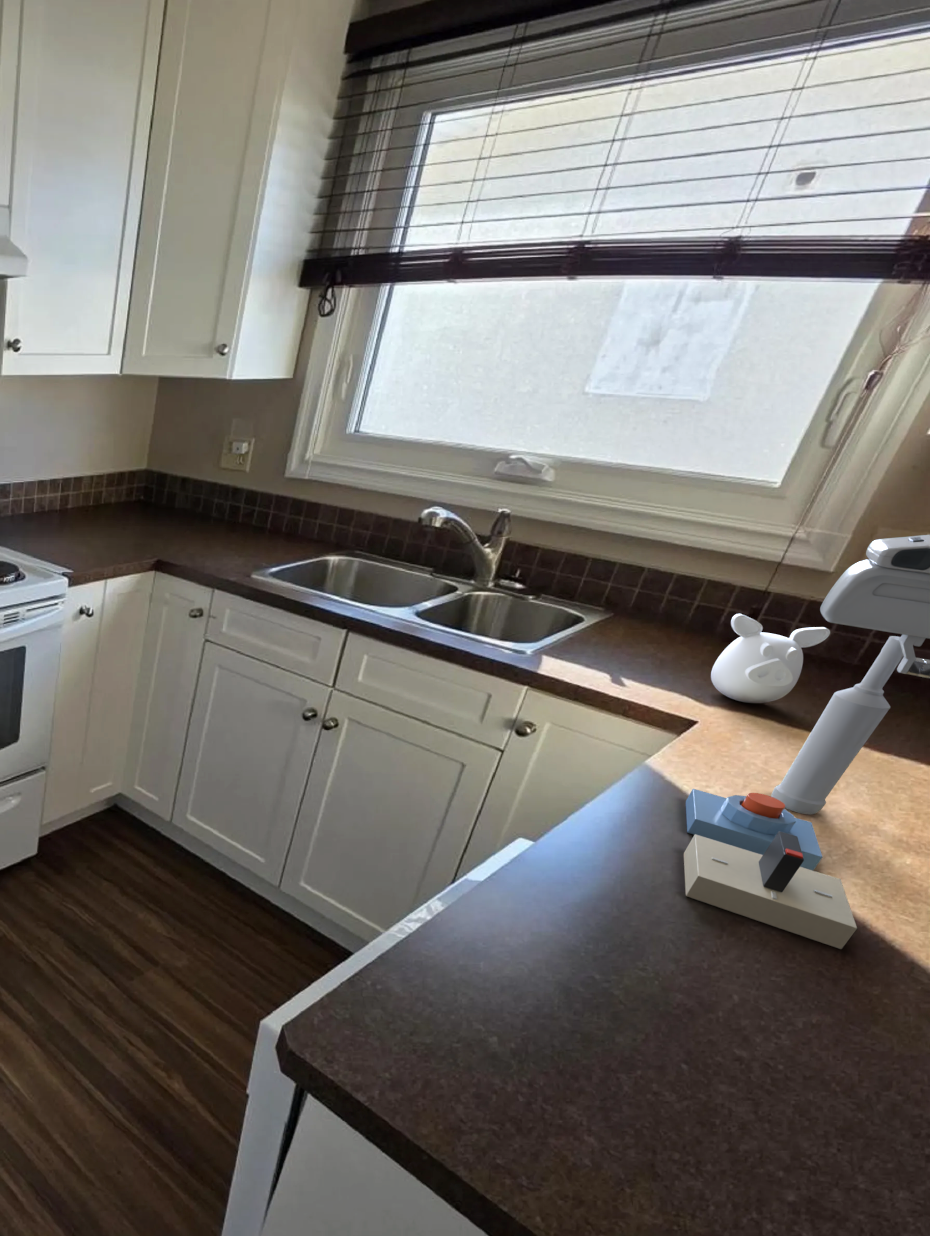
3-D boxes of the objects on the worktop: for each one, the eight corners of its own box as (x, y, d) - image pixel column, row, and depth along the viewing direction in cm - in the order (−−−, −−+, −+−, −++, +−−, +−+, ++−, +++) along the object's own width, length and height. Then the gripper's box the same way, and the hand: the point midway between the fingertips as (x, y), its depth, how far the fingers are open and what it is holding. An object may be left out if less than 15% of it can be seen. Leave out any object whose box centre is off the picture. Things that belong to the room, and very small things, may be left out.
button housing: (802, 835, 105) (819, 810, 103) (812, 871, 98) (831, 845, 96) (685, 801, 112) (699, 777, 110) (687, 832, 105) (702, 807, 103)
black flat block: (758, 862, 94) (779, 828, 92) (776, 867, 93) (798, 834, 91) (763, 886, 90) (785, 852, 88) (782, 892, 89) (805, 858, 87)
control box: (826, 899, 93) (841, 877, 92) (841, 949, 86) (858, 927, 84) (683, 853, 100) (695, 832, 99) (685, 896, 93) (698, 874, 91)
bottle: (766, 802, 112) (870, 637, 101) (771, 790, 115) (873, 628, 104) (816, 819, 109) (931, 650, 97) (821, 807, 112) (932, 641, 100)
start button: (776, 811, 103) (783, 799, 103) (779, 822, 101) (787, 811, 100) (739, 800, 105) (746, 789, 105) (741, 811, 103) (748, 800, 102)
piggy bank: (726, 711, 139) (771, 630, 132) (683, 683, 150) (723, 607, 143) (807, 719, 138) (857, 638, 131) (757, 691, 148) (802, 614, 141)
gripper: (1126, 571, 84) (1042, 690, 91) (853, 538, 96) (794, 646, 102) (1153, 584, 80) (1062, 708, 86) (863, 548, 91) (801, 660, 98)
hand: (915, 674), depth 94 cm, fingers closed
